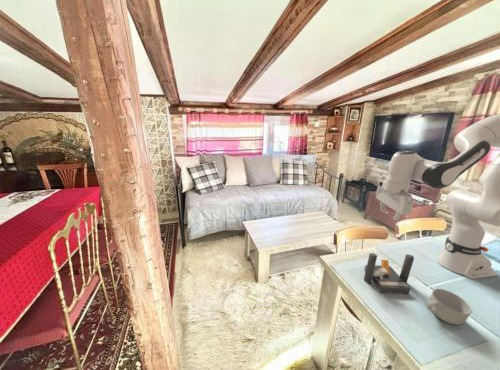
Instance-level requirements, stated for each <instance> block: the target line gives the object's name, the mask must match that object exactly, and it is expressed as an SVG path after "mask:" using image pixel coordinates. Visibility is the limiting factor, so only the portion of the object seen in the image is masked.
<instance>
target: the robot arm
mask: <svg viewBox="0 0 500 370" xmlns="http://www.w3.org/2000/svg"><path fill="white" fill-rule="evenodd" d="M453 143H454V147H455V149H456V150H457V151H458V152H459V154H458V155H457V156H455V157H454V158H452V159H451V160H449V161H443V162H440V161H434V160H430V159H426V158H424V157H422V156H420V155H419V154H418V153H417V151H415V150H410V149H409V150H407V149H405V150H398V151H396V152H395V153H393V155H392V157H391V160H390V162H389V165H388V174H387V176H386V178H385V180H379V181H378V182H377V185H378V186H377V189H376V193H375V199H376V200H378V201H380V202H379V205H380V209H379V210H380V211H381V212H383V213H384V212H387V208H386V206H387V207H389V209H392V210H393V211H395V215H393V216H392V220H393V221H395V222H398V221H399V220H400V218H401V217H402V216H410V215H411V214H412V211H413V208H414V207H413V206H414V198H413V196H412V194H411V193H409V189H410V185H411V182H412V181H416V182H419V183H422V184H425V185H427V186H429V187H431V188H433V189H439V190H440V189H444V188H447V187H449V186H450V185H451V186H452V184H453V183H454V182H456V180H457V179H458V178H459V177H460V176H461V175H463V173H465V172H466V171H468V170H469V169H470V168H472V167H473V166H475V165H476V164H478V163H479V162H480V161H481V160H483V159H484V158H485V157H486V156H487V155H488V154H489V153H490V152H491V151H490V150H491V148H492V147H493V148H498V149H500V113H497V114H493V115H491V116H490V115H489V116H488V117H485V118H482V119H481V120H478V121H476V122H475V123H473V124H471V125H469V126H467V127H466V128H464V129H462V130H461V131H460V132H459V133H457V134H456V135H455V137H454V141H453ZM478 182H479V184H480V185H481V186H482V192H481V194H479V193H476V192H473V191H469V190H463V189H462V190H461V189H454V190H452V191H450V192H449V193H448V194H447V195H446V196H445V203H446V205H447V206H448V209H449V210H450V213H451V218H452V224H451V228H450V231H449V234H448V236H447V237H446V239H445V243H444V244H443V247H442V248H441V250H440V251H439V252H438V254H437V257H436V262H437V263H438V264H439V265H441V267H443V268H445V269H447V270H449V271H451V272H453V273H456V274H459V275H461V276H462V275H463V276H465V277H467V278H469V279H473V280H474V279H483V278H489V277H490V278H491V277H492V278H493V277H496V276H497V273H496V271H495V270H494V269H493V268H492V261H491V260H490V259H489V258H488V257H487V256H486V255H484V254H483V253H482V252H484V253H487V252H488V251H489V248H488V247H485V246H484V245H483V246H482V242H483V240H484V237H485V235H486V231H485V229H484V228H483V227H482V226H481V224H480V222H481V223H485V224H488V225H492V226H495V227H500V152H499V153H498V154H497V155H496V156H495V157H494V158H493V160H492V161H491V162H490V163H489V164H488V165H487V167H486V168H485V170H484V171H483V172H482V173H481V174H480V176H479V178H478Z"/></svg>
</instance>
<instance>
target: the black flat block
mask: <svg viewBox="0 0 500 370" xmlns="http://www.w3.org/2000/svg"><path fill="white" fill-rule="evenodd" d="M366 267H367V264H365V267H364V272H366ZM379 268H382V265H376V264H375V268H374V272H376V271H377V270H378V269H379ZM389 271H390V274H389V275H382V276H381V277H377V276H374V272H373V276H372V280H371V282H372V283H373V284H374V285H375V287H376V289H377V290H378V292H379V293H381V294H404V295H409V294H410V291H411V287H410V286H409V285H408V284H407V283H405V282H404V281H403V280H402V278H401V277H400V274H398V273H397V272H396V271H395V270H394V269H393V267H392V266H390V265H389Z"/></svg>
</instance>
